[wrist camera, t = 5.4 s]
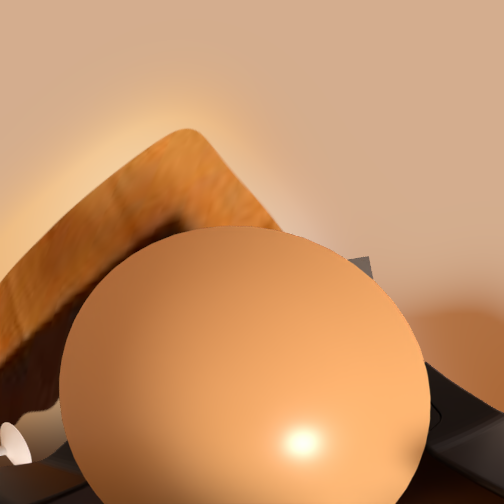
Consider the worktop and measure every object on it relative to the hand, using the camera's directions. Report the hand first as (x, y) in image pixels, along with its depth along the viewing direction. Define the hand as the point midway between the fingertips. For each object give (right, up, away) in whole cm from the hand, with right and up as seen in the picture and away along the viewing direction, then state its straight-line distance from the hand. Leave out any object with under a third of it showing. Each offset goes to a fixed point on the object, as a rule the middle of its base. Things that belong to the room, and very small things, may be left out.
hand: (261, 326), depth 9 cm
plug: (+1, -3, +6) cm, 7 cm away
